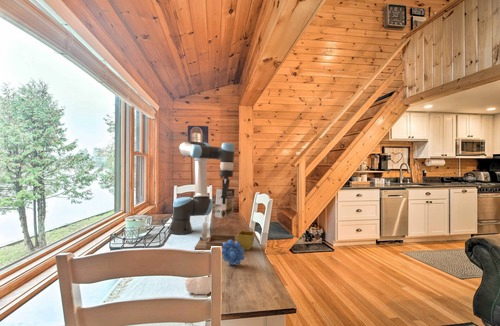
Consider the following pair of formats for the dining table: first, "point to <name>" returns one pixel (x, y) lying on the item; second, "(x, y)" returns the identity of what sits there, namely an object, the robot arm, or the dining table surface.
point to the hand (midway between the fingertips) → (224, 208)
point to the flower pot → (246, 239)
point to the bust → (198, 285)
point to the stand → (214, 241)
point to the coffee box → (229, 204)
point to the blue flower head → (232, 252)
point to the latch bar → (204, 231)
